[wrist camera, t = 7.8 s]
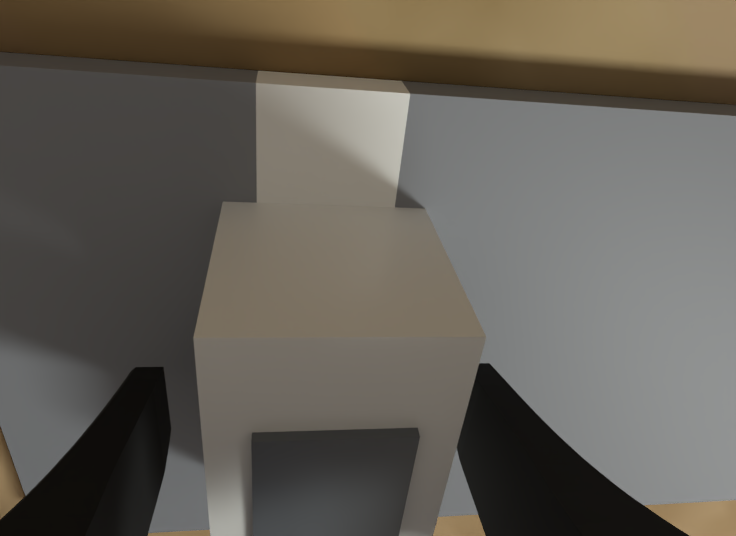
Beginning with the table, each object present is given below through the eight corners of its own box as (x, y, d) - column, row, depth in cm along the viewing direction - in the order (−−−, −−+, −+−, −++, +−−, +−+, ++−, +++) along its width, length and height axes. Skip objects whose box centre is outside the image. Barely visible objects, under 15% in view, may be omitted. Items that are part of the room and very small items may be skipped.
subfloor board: (765, 474, 22) (784, 497, 21) (52, 509, 18) (40, 538, 17) (1020, 125, 14) (1066, 138, 14) (-99, 45, 10) (-133, 56, 9)
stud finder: (380, 471, 17) (409, 637, 13) (234, 477, 16) (218, 654, 12) (425, 208, 12) (489, 345, 8) (223, 201, 12) (191, 347, 8)
